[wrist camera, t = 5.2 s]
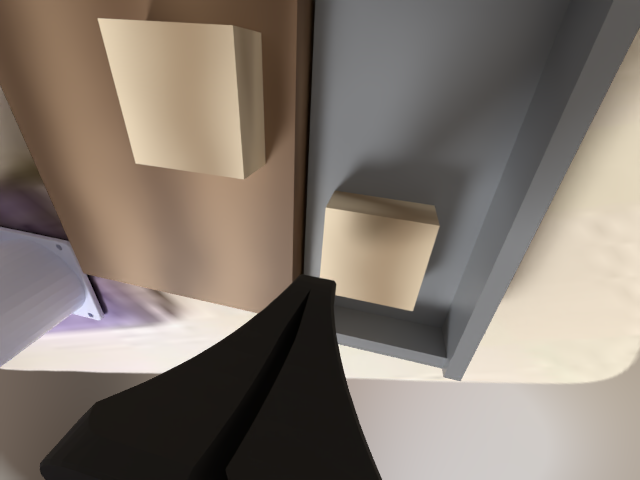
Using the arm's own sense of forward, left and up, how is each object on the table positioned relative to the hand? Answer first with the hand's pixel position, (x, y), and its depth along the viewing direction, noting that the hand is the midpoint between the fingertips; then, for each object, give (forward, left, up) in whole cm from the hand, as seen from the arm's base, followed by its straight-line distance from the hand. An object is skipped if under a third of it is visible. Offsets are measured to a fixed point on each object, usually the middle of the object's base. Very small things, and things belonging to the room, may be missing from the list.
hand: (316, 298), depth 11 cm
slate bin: (+3, +3, -6) cm, 7 cm away
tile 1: (+2, 0, -5) cm, 5 cm away
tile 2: (-5, +6, -3) cm, 9 cm away
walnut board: (-9, +3, -6) cm, 11 cm away
